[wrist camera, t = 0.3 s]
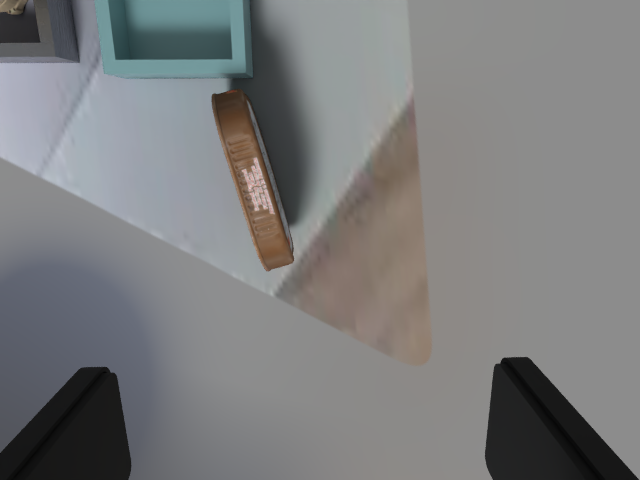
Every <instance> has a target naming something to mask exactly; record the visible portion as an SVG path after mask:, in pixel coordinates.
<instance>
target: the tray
mask: <svg viewBox="0 0 640 480" xmlns="http://www.w3.org/2000/svg"><path fill="white" fill-rule="evenodd" d="M95 8H96V16H97V23H98V31H99V39H100V46H101V54H102V62H103V69H104V74H108V75H112V76H117V77H121V78H126V79H140V78H253V63H252V40H251V17H250V0H95Z"/></svg>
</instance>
